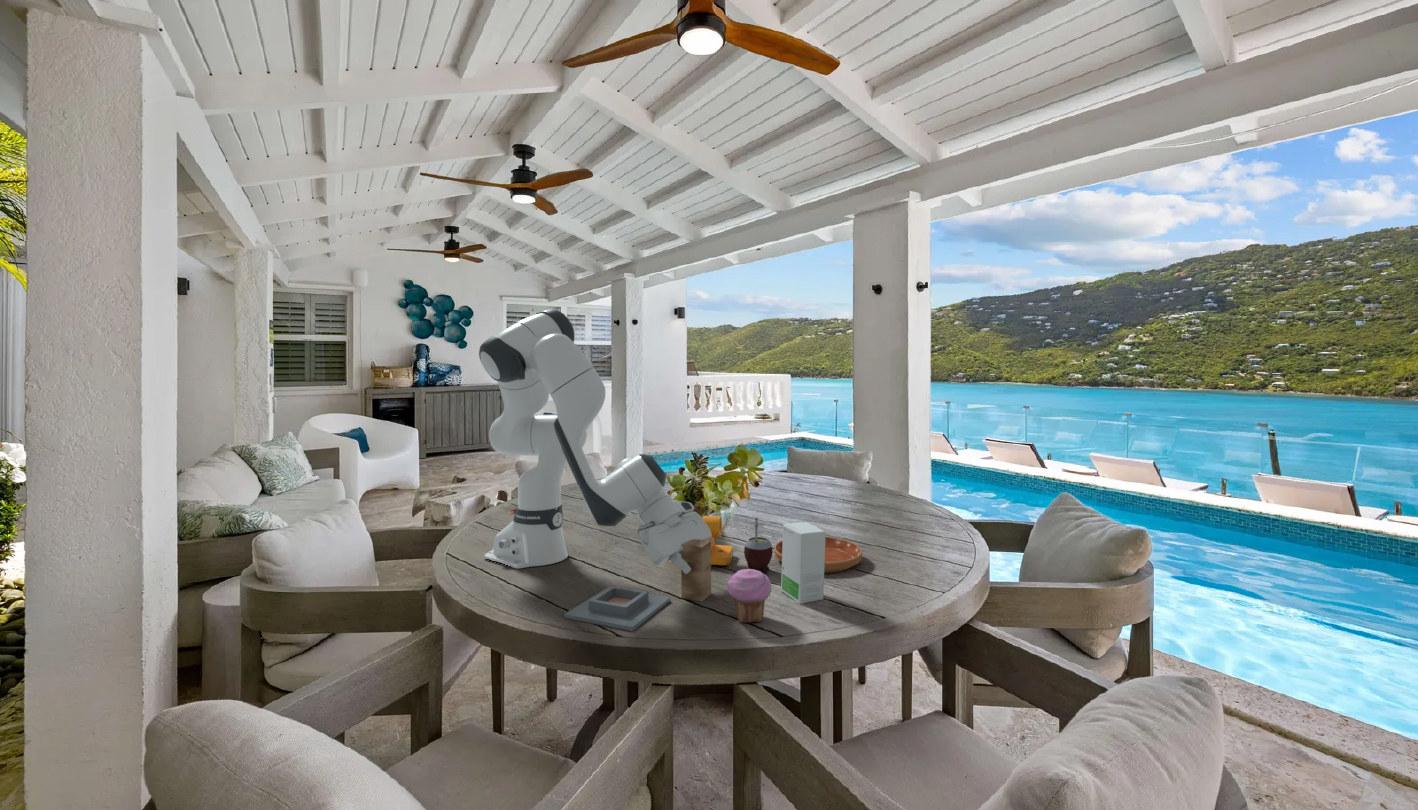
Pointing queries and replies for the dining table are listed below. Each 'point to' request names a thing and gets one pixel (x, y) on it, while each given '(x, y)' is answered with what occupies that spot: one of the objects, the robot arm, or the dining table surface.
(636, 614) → the housing
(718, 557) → the bracket
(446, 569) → the dining table surface
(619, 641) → the dining table surface
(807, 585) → the skincare box
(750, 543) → the mate gourd
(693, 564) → the block
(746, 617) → the cupcake
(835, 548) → the saucer
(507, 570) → the dining table surface
